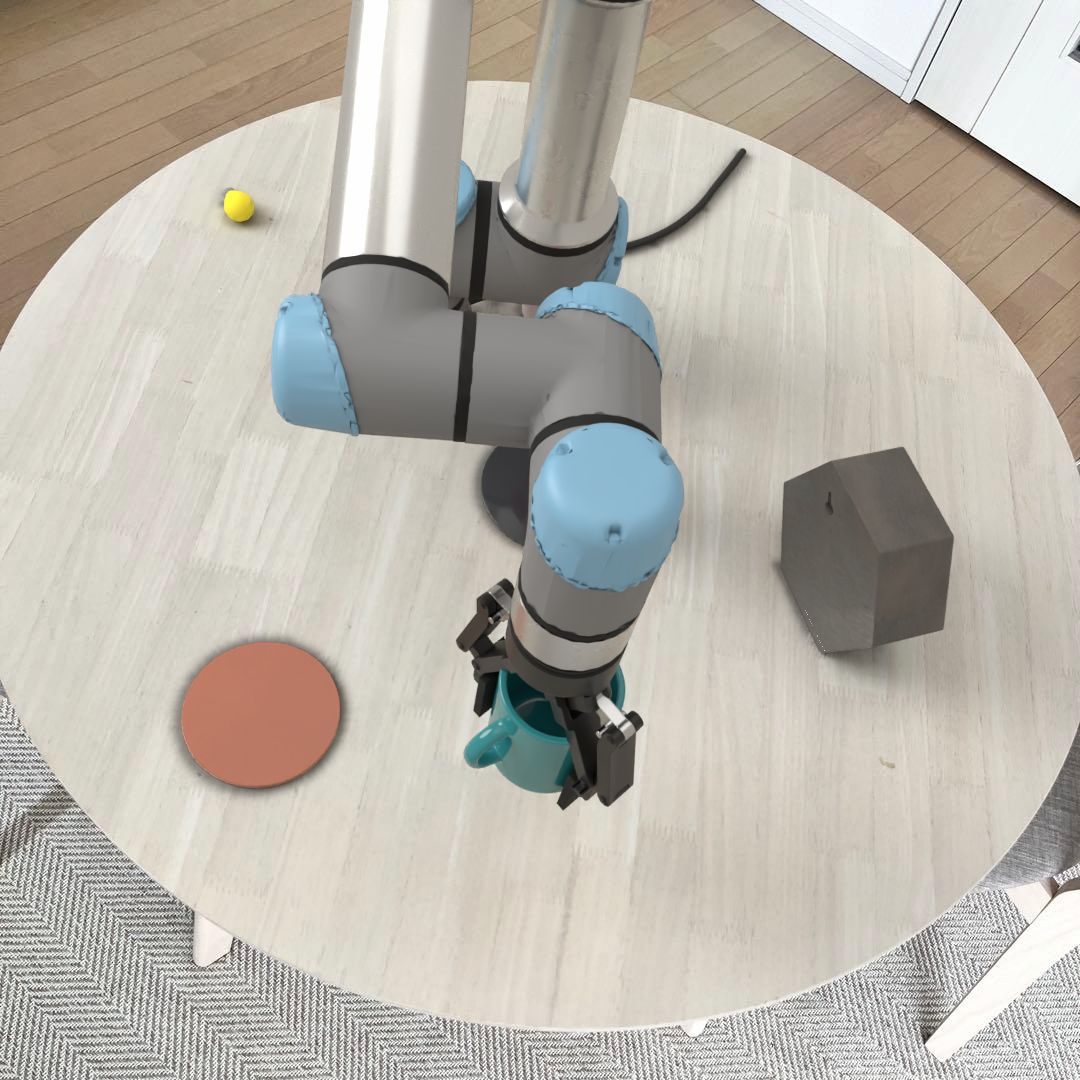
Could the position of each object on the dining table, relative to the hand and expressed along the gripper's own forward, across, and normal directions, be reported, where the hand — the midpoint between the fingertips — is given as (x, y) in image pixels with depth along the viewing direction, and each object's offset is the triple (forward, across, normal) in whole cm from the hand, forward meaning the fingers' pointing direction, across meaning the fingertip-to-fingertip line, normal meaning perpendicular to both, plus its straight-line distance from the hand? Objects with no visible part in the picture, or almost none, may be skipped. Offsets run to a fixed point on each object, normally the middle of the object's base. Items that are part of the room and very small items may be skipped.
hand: (530, 749), depth 88 cm
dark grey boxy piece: (+15, -4, -40) cm, 43 cm away
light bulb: (+16, +76, -23) cm, 81 cm away
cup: (+1, 0, 0) cm, 1 cm away
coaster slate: (+15, +23, -26) cm, 38 cm away
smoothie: (+16, +42, -42) cm, 62 cm away
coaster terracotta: (+15, +21, +12) cm, 29 cm away
